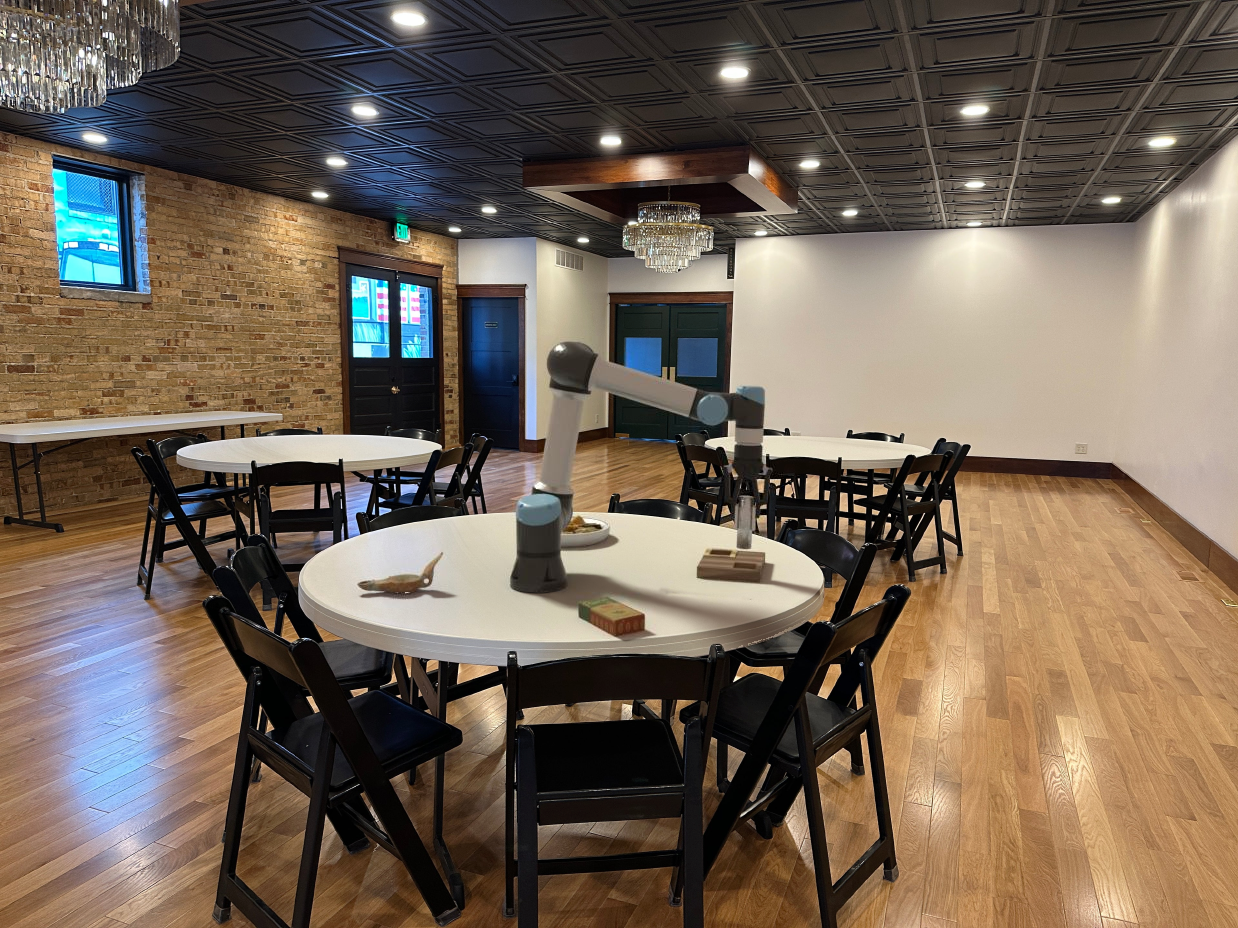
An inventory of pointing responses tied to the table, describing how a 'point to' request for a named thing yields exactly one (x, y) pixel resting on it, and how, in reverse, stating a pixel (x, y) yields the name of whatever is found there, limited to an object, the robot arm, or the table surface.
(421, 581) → the oil lamp
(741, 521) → the steel pin
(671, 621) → the table surface
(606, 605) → the carton
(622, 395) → the robot arm
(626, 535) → the table surface
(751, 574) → the socket board
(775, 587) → the table surface
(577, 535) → the bowl
